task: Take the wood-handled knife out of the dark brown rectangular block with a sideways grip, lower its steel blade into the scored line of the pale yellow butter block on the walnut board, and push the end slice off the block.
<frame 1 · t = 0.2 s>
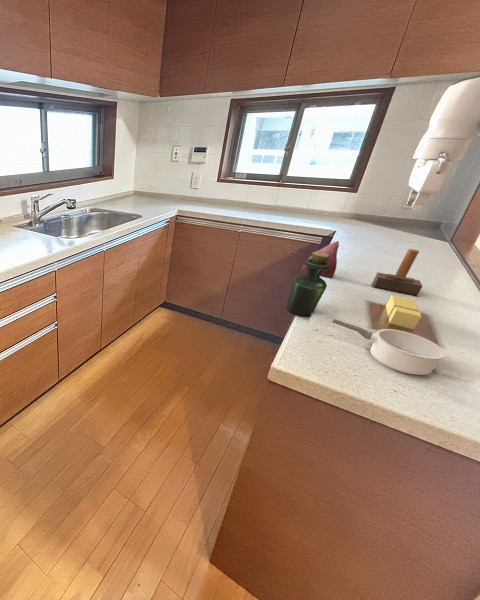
hand: (412, 207, 88), 30 cm above the worktop, tool pointing down, fingers open, 8 cm apart
butter slice: (400, 324, 88), point 1 cm above the worktop, touching cutting board
dark brown rectangular block: (392, 292, 110), on the worktop
potion bottle: (298, 312, 96), on the worktop
butter block: (397, 314, 93), point 1 cm above the worktop, touching cutting board
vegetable: (316, 274, 123), on the worktop
cutting board: (397, 325, 90), on the worktop
saucepan: (373, 355, 77), on the worktop
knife: (402, 271, 107), in the dark brown rectangular block
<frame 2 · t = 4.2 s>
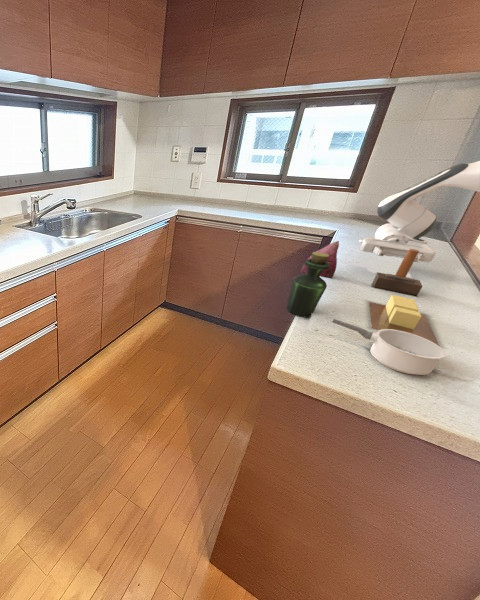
hand: (398, 256, 114), 10 cm above the worktop, tool horizontal, fingers open, 8 cm apart
nothing on the worktop moved.
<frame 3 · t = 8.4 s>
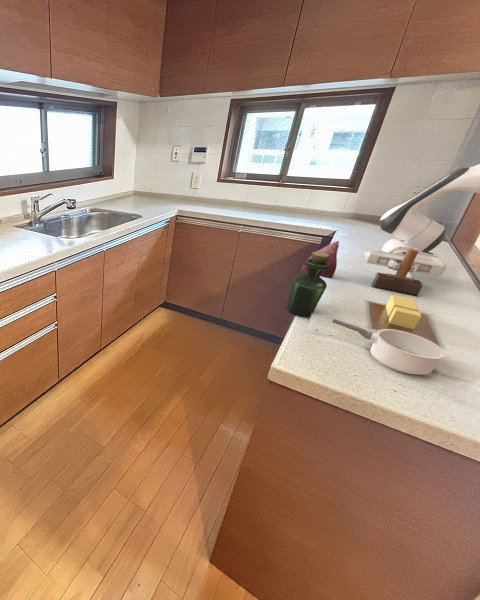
hand: (405, 268, 106), 9 cm above the worktop, tool horizontal, fingers closed on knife, 2 cm apart
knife: (402, 271, 107), in the dark brown rectangular block, touching gripper
everything else where it was.
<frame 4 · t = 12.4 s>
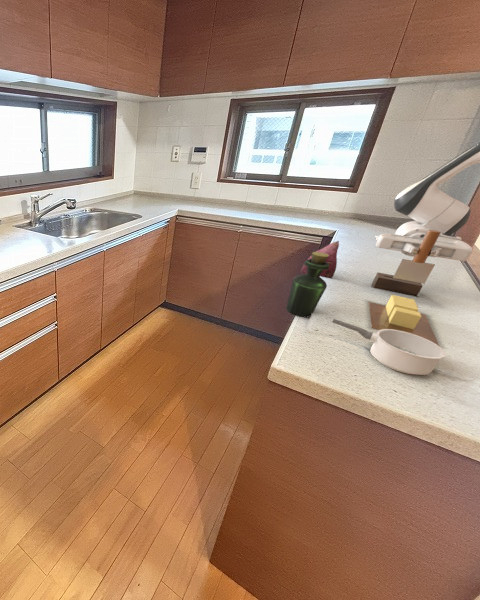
hand: (424, 252, 92), 18 cm above the worktop, tool horizontal, fingers closed on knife, 2 cm apart
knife: (421, 256, 93), point 16 cm above the worktop, touching gripper
everything else where it was.
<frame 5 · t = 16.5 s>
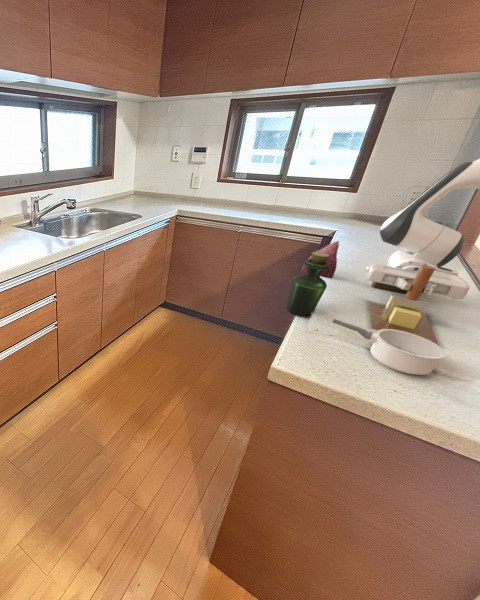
hand: (417, 289, 84), 11 cm above the worktop, tool horizontal, fingers closed on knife, 2 cm apart
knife: (413, 293, 86), point 10 cm above the worktop, touching gripper
everything else where it was.
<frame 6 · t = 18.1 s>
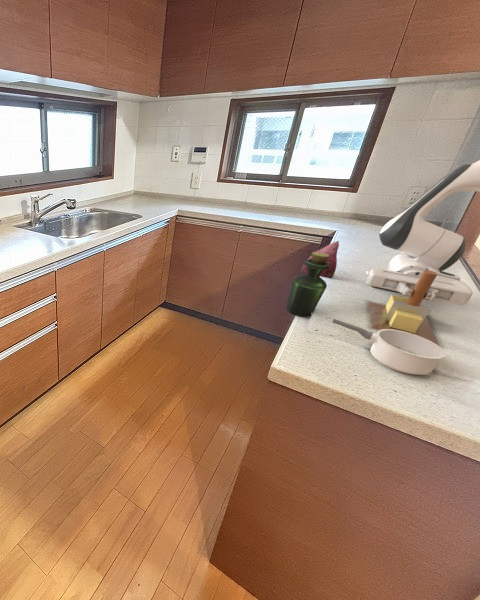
hand: (419, 295, 82), 11 cm above the worktop, tool horizontal, fingers closed on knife, 2 cm apart
butter slice: (401, 327, 86), point 2 cm above the worktop
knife: (415, 299, 84), point 10 cm above the worktop, touching gripper
everything else where it was.
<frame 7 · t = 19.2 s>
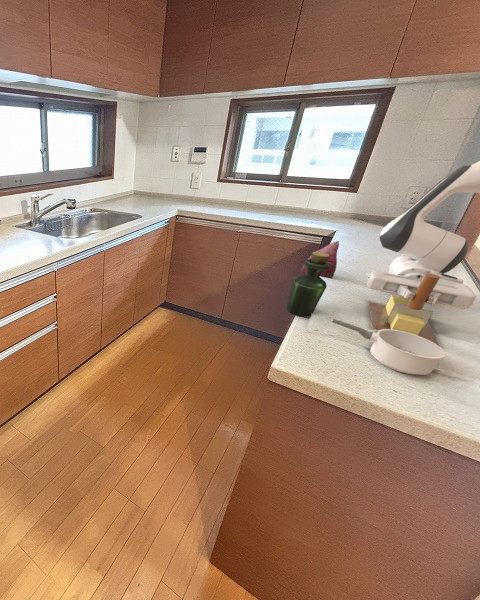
hand: (420, 298, 80), 11 cm above the worktop, tool horizontal, fingers closed on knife, 2 cm apart
butter slice: (402, 331, 84), point 2 cm above the worktop, touching cutting board, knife
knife: (417, 302, 82), point 10 cm above the worktop, touching butter slice, gripper
everything else where it was.
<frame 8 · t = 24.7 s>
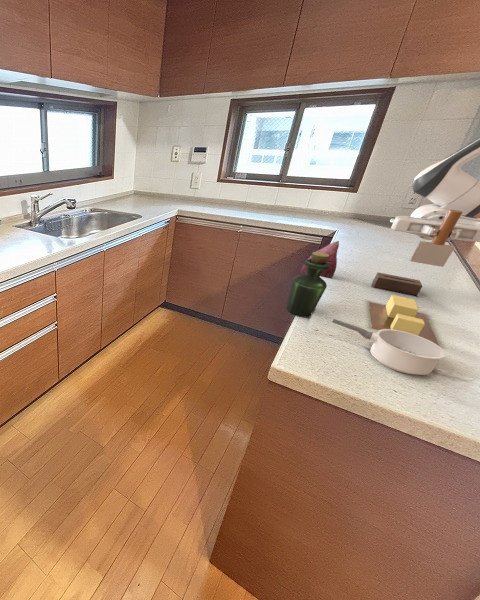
hand: (444, 233, 87), 24 cm above the worktop, tool horizontal, fingers closed on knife, 2 cm apart
butter slice: (403, 331, 84), point 1 cm above the worktop, touching cutting board
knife: (440, 238, 88), point 22 cm above the worktop, touching gripper
everything else where it was.
at the end: butter slice moved 4.9 cm from its start; butter block moved 0.0 cm from its start; the gripper is holding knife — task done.
